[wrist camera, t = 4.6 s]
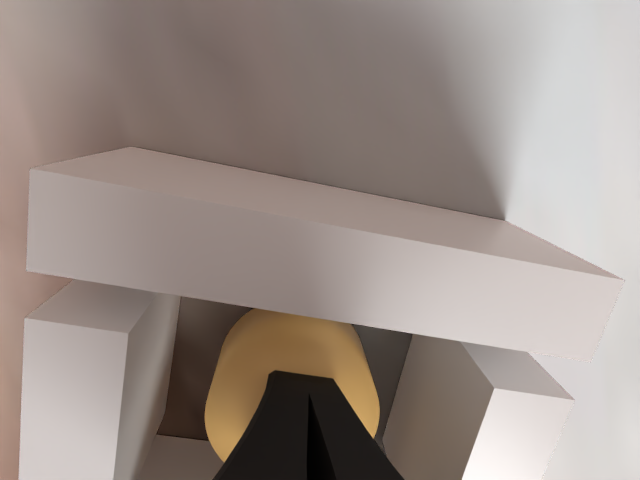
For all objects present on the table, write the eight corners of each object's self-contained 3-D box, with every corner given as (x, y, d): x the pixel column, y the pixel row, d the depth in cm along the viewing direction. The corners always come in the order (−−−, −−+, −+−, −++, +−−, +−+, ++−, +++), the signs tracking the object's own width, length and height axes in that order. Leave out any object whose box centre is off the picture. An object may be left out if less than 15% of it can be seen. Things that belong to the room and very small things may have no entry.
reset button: (209, 415, 11) (193, 477, 9) (231, 286, 10) (218, 326, 8) (346, 433, 12) (357, 496, 10) (379, 311, 11) (398, 354, 9)
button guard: (100, 473, 12) (12, 640, 8) (131, 146, 10) (29, 168, 6) (411, 508, 13) (462, 670, 9) (506, 221, 11) (624, 280, 7)
